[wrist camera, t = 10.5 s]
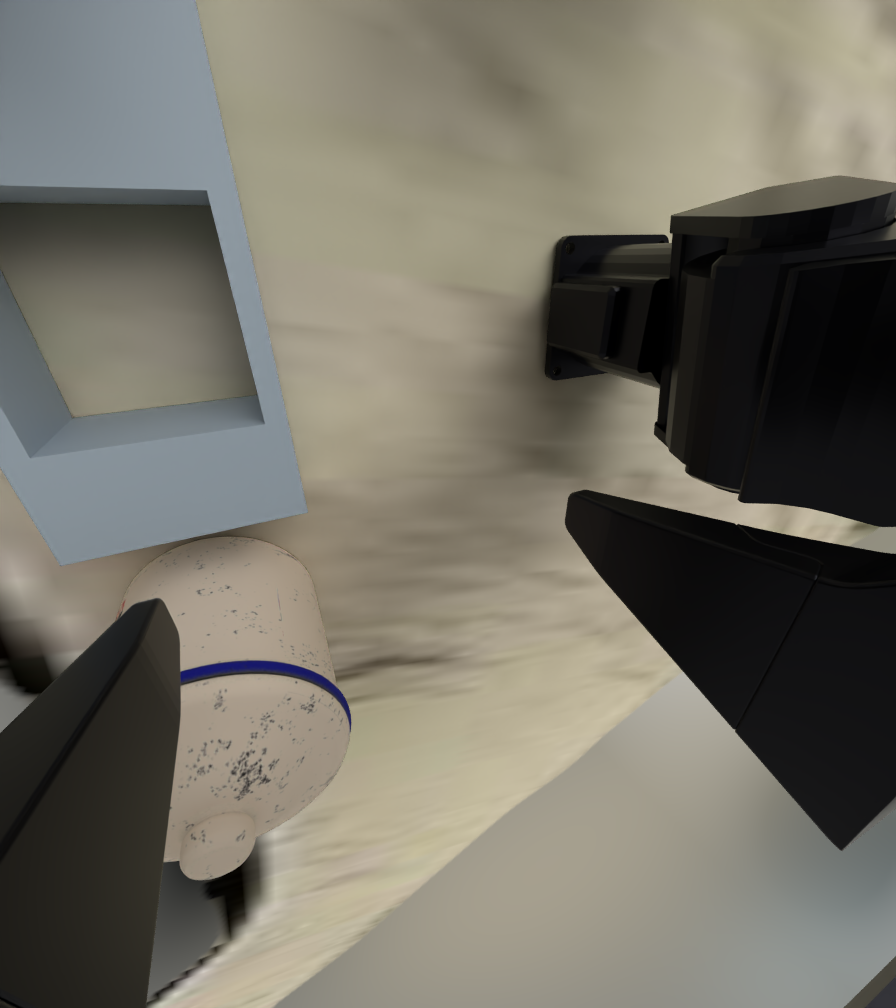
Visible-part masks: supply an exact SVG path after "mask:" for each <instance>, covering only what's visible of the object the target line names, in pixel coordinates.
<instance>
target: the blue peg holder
mask: <svg viewBox="0 0 896 1008" xmlns="http://www.w3.org/2000/svg"><path fill="white" fill-rule="evenodd" d="M0 203H68V204H144V205H211V209H212V213H213V217H214V221H215V225H216V229H217V233H218V237H219V241H220V245H221V249H222V253H223V257H224V261H225V265H226V269H227V273H228V277H229V281H230V285H231V289H232V293H233V297H234V301H235V305H236V309H237V313H238V317H239V321H240V325H241V329H242V333H243V337H244V341H245V345H246V349H247V353H248V357H249V361H250V365H251V369H252V374H253V378H254V382H255V386H256V390H257V394H258V395H254V396H246V397H237V398H229V399H221V400H213V401H205V402H197V403H189V404H181V405H173V406H165V407H156V408H148V409H140V410H132V411H124V412H116V413H108V414H100V415H92V416H84V417H75V418H72V416H71V414H70V412H69V410H68V408H67V406H66V404H65V402H64V400H63V397H62V395H61V393H60V391H59V389H58V387H57V385H56V383H55V381H54V379H53V377H52V375H51V373H50V371H49V369H48V367H47V365H46V362H45V360H44V358H43V356H42V354H41V352H40V350H39V348H38V346H37V344H36V342H35V340H34V338H33V336H32V334H31V332H30V329H29V327H28V325H27V323H26V321H25V319H24V317H23V315H22V313H21V311H20V309H19V307H18V305H17V303H16V301H15V299H14V297H13V294H12V292H11V290H10V288H9V286H8V284H7V282H6V280H5V278H4V276H3V274H2V272H1V270H0V468H1V470H2V471H3V473H4V475H5V476H6V478H7V480H8V481H9V483H10V484H11V486H12V488H13V489H14V491H15V493H16V494H17V496H18V498H19V499H20V501H21V502H22V504H23V506H24V507H25V509H26V511H27V512H28V514H29V516H30V517H31V519H32V520H33V522H34V524H35V525H36V527H37V529H38V530H39V532H40V534H41V535H42V537H43V538H44V540H45V542H46V543H47V545H48V547H49V548H50V550H51V551H52V553H53V555H54V556H55V558H56V560H57V561H58V563H59V565H60V566H63V565H68V564H72V563H77V562H82V561H86V560H91V559H96V558H100V557H105V556H109V555H114V554H119V553H123V552H128V551H133V550H137V549H142V548H146V547H151V546H156V545H160V544H165V543H170V542H174V541H179V540H183V539H188V538H193V537H197V536H202V535H207V534H211V533H216V532H220V531H225V530H230V529H234V528H239V527H244V526H248V525H253V524H257V523H262V522H267V521H271V520H276V519H281V518H285V517H290V516H294V515H299V514H304V513H308V510H307V505H306V501H305V496H304V491H303V487H302V482H301V478H300V473H299V469H298V464H297V460H296V455H295V451H294V446H293V442H292V437H291V432H290V428H289V423H288V419H287V414H286V410H285V405H284V401H283V396H282V392H281V387H280V383H279V378H278V373H277V369H276V364H275V360H274V355H273V351H272V346H271V342H270V337H269V333H268V328H267V324H266V319H265V314H264V310H263V305H262V301H261V296H260V292H259V287H258V283H257V278H256V274H255V269H254V265H253V260H252V255H251V251H250V246H249V242H248V237H247V233H246V228H245V224H244V219H243V215H242V210H241V205H240V201H239V196H238V192H237V187H236V183H235V178H234V174H233V169H232V165H231V160H230V156H229V151H228V146H227V142H226V137H225V133H224V128H223V124H222V119H221V115H220V110H219V106H218V101H217V97H216V92H215V87H214V83H213V78H212V74H211V69H210V65H209V60H208V56H207V51H206V47H205V42H204V38H203V33H202V28H201V24H200V19H199V15H198V10H197V6H196V1H195V0H0Z"/></svg>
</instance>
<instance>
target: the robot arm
mask: <svg viewBox="0 0 896 1008" xmlns="http://www.w3.org/2000/svg"><path fill="white" fill-rule="evenodd" d="M670 233H673V236H672V243H669V240H668V237H667V236H666V235H580V236H565V237H562V238H561V239H560V240H559V242H558V244H557V247H556V256H555V267H554V278H553V288H552V291H551V302H550V313H549V324H548V335H547V342H548V343H547V354H546V365H545V374H546V376H547V377H548V378H549V379H552V380H562V379H569V378H576V377H583V376H590V375H597V374H604V373H611V374H614V375H617V376H621V377H624V378H627V379H630V380H634V381H637V382H640V383H643V384H647V385H650V386H653V387H656V388H660V395H659V407H658V419H657V422H655V427H654V435H655V436H656V437H657V438H658V439H659V440H661V441H662V442H663V443H664V444H665V445H666V446H667V447H668V448H669V451H670V452H671V453H672V454H673V455H674V456H675V457H676V458H678V459H679V460H680V461H681V462H682V463H683V464H685V465H686V467H685V471H686V473H687V474H689V475H690V476H691V477H693V478H696V479H698V480H700V481H702V482H705V483H707V484H710V485H712V486H714V487H716V488H718V489H722V490H725V491H728V492H731V493H737V494H739V496H738V500H739V501H740V502H742V503H760V504H782V505H789V506H797V507H804V508H810V509H814V510H818V511H823V512H827V513H831V514H835V515H838V516H842V517H845V518H849V519H853V520H856V521H860V522H864V523H867V524H871V525H874V526H879V527H896V183H892V182H885V181H877V180H870V179H863V178H855V177H848V176H832V177H826V178H820V179H814V180H808V181H802V182H796V183H790V184H784V185H778V186H772V187H767V188H763V189H759V190H756V191H753V192H749V193H746V194H742V195H739V196H736V197H732V198H729V199H725V200H722V201H719V202H715V203H712V204H708V205H705V206H702V207H698V208H695V209H691V210H688V211H684V212H681V213H678V214H674V215H671V223H670ZM567 244H569V246H570V249H569V252H568V253H566V246H567ZM556 366H557V370H556V372H555V373H553V371H554V368H555V367H556ZM565 525H566V528H567V530H568V532H569V533H570V535H571V536H572V538H573V539H574V540H575V542H576V543H577V545H578V546H579V547H580V549H581V550H582V552H583V553H584V554H585V556H586V557H587V559H588V560H589V562H590V563H591V564H592V566H593V567H594V569H595V570H596V571H597V573H598V574H599V575H600V576H601V578H602V579H603V580H604V581H605V582H606V584H607V585H608V586H609V587H610V588H611V589H612V590H613V592H614V593H615V594H616V595H617V596H618V597H619V598H620V600H621V601H622V602H623V603H624V604H625V605H626V607H627V608H628V609H629V610H630V611H631V612H632V613H633V615H634V616H635V617H636V618H637V619H638V620H639V621H640V623H641V624H642V625H643V626H644V627H645V628H646V629H647V631H648V632H649V633H650V634H651V635H652V636H653V638H654V639H655V640H656V641H657V642H658V643H659V644H660V646H661V647H662V648H663V649H664V650H665V651H666V652H667V654H668V655H669V656H670V657H671V658H672V659H673V660H674V662H675V663H676V664H677V665H678V666H679V667H680V669H681V670H682V671H683V672H684V673H685V674H686V675H687V677H688V678H689V679H690V680H691V681H692V682H693V683H694V685H695V686H696V687H697V688H698V689H699V690H700V691H701V693H702V694H703V695H704V696H705V697H706V698H707V699H708V700H709V702H710V703H711V704H712V705H713V706H714V708H715V709H716V710H717V711H718V712H719V713H720V714H721V716H722V717H723V718H724V719H725V720H726V721H727V722H728V724H729V725H730V726H731V727H732V728H733V729H736V730H735V732H736V733H737V734H738V736H739V737H740V738H741V739H742V740H743V741H744V742H745V744H746V745H747V746H748V747H749V748H750V749H751V750H752V752H753V753H754V754H755V755H756V756H757V757H758V759H760V761H761V762H762V763H763V764H764V765H765V767H766V768H767V769H768V770H769V771H770V772H771V773H772V774H773V776H774V777H775V778H776V779H777V780H778V782H779V783H780V784H781V785H782V786H783V787H784V788H785V789H786V791H787V792H788V793H789V794H790V795H791V796H792V798H794V800H795V801H796V802H797V803H798V805H799V806H801V808H802V809H803V810H804V811H805V812H806V814H807V815H808V816H809V817H810V818H811V819H812V821H813V822H814V823H815V824H816V825H817V826H818V828H819V829H820V830H821V831H822V832H823V833H824V834H825V836H826V837H827V838H828V839H829V840H830V841H831V842H832V843H833V844H834V845H835V846H836V847H837V848H838V849H839V850H841V851H843V850H844V849H845V848H847V847H848V846H849V845H850V844H852V843H853V842H854V841H855V840H857V839H858V838H859V837H861V836H862V835H863V834H864V833H866V832H867V831H868V830H869V829H871V828H872V827H873V826H874V825H876V824H877V823H878V822H879V821H881V820H882V819H883V818H885V817H886V816H887V815H888V814H890V813H891V812H892V811H893V810H895V809H896V554H890V553H883V552H876V551H871V550H865V549H860V548H854V547H849V546H844V545H838V544H833V543H828V542H822V541H817V540H811V539H806V538H801V537H796V536H791V535H786V534H781V533H776V532H771V531H767V530H762V529H757V528H753V527H749V526H744V525H740V524H737V525H736V524H734V523H731V522H726V521H722V520H717V519H713V518H709V517H704V516H700V515H695V514H691V513H687V512H682V511H678V510H673V509H669V508H665V507H660V506H656V505H651V504H647V503H642V502H638V501H634V500H629V499H625V498H620V497H616V496H612V495H607V494H603V493H598V492H594V491H590V490H581V491H577V492H573V493H571V494H570V495H569V497H568V502H567V509H566V517H565ZM180 718H181V679H180V638H179V633H178V630H177V627H176V625H175V623H174V621H173V619H172V617H171V615H170V613H169V611H168V609H167V607H166V605H165V603H164V601H163V600H162V599H160V598H154V599H150V600H146V601H142V602H138V603H135V604H133V605H132V606H131V607H130V608H129V609H128V610H127V611H126V612H124V613H123V614H122V615H121V616H120V617H119V618H118V619H117V620H116V621H115V622H114V623H113V624H112V625H111V626H110V627H109V628H108V629H107V630H106V631H105V632H104V633H103V634H102V635H101V636H100V637H99V638H98V639H97V640H96V641H95V642H94V643H93V644H92V645H91V646H89V647H88V648H87V649H86V650H85V651H84V652H83V653H82V654H81V655H80V656H79V657H78V658H77V659H76V660H75V661H74V662H73V663H72V664H71V665H70V666H69V667H68V668H67V669H66V670H65V671H64V672H63V673H62V674H61V675H60V676H59V677H58V678H57V679H56V680H54V681H53V682H52V683H51V684H50V685H49V686H48V687H47V688H46V689H45V690H44V691H43V692H42V693H41V694H40V695H39V696H38V697H37V698H36V699H35V700H34V701H33V702H32V703H31V704H30V705H29V706H28V707H27V708H26V709H25V710H24V711H23V712H22V713H21V714H20V715H18V717H16V718H15V719H14V720H13V721H12V722H11V723H10V724H9V725H8V726H7V727H6V728H5V729H4V730H3V731H2V732H1V733H0V1008H146V1002H147V993H148V985H149V976H150V968H151V961H152V952H153V944H154V935H155V928H156V919H157V910H158V903H159V894H160V886H161V878H162V870H163V862H164V853H165V845H166V837H167V829H168V820H169V812H170V804H171V796H172V787H173V779H174V771H175V763H176V754H177V746H178V738H179V730H180ZM844 1008H896V957H894V958H893V959H892V960H891V962H889V963H888V964H887V965H886V966H885V967H884V968H883V969H882V971H880V972H879V973H878V974H877V975H876V976H875V977H874V978H873V979H872V980H871V981H870V982H869V983H868V984H867V985H866V986H865V987H864V988H863V989H862V990H861V991H860V992H859V993H858V994H857V995H856V996H855V997H854V998H853V999H852V1000H851V1001H850V1002H849V1003H848V1004H847V1005H846V1006H845V1007H844Z"/></svg>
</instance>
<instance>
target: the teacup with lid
mask: <svg viewBox="0 0 896 1008" xmlns="http://www.w3.org/2000/svg"><path fill="white" fill-rule="evenodd" d="M154 598H160V599H162V600H163V601H164V603H165V605H166V607H167V609H168V611H169V613H170V615H171V617H172V619H173V621H174V623H175V625H176V627H177V630H178V633H179V638H180V679H181V718H180V730H179V738H178V746H177V754H176V763H175V771H174V779H173V787H172V796H171V804H170V812H169V820H168V829H167V837H166V845H165V853H164V862H171V861H178V860H180V868H181V870H182V872H183V873H184V874H185V875H186V876H187V877H189V878H190V879H194V880H208V879H213V878H216V877H220V876H222V875H225V874H227V873H229V872H231V871H232V870H234V869H236V868H237V867H239V866H240V865H241V864H242V863H243V862H244V861H245V860H246V859H247V858H248V856H249V855H250V853H251V851H252V849H253V847H254V844H255V838H256V837H258V836H260V835H262V834H264V833H266V832H268V831H270V830H272V829H274V828H275V827H277V826H279V825H281V824H282V823H284V822H285V821H287V820H289V819H290V818H292V817H293V816H294V815H296V814H297V813H299V812H300V811H301V810H302V809H304V808H305V807H306V806H307V805H309V804H310V803H311V802H312V801H313V800H314V799H315V798H316V797H317V796H318V795H319V794H320V793H321V792H322V791H323V790H324V789H325V788H326V787H327V786H328V784H329V783H330V782H331V780H332V779H333V778H334V776H335V775H336V773H337V771H338V770H339V768H340V766H341V764H342V762H343V760H344V757H345V754H346V751H347V748H348V744H349V739H350V732H351V714H350V710H349V706H348V704H347V701H346V699H345V697H344V696H343V694H342V693H341V691H340V690H339V689H338V687H337V683H336V678H335V674H334V670H333V665H332V661H331V657H330V652H329V648H328V644H327V639H326V635H325V631H324V626H323V622H322V618H321V613H320V609H319V605H318V601H317V596H316V592H315V588H314V584H313V581H312V579H311V577H310V575H309V573H308V571H307V570H306V568H305V567H304V566H303V565H302V564H301V562H300V561H299V560H297V559H296V558H295V557H294V556H293V555H291V554H290V553H288V552H287V551H285V550H283V549H282V548H280V547H278V546H275V545H273V544H271V543H268V542H265V541H261V540H257V539H252V538H246V537H214V538H207V539H202V540H197V541H193V542H190V543H187V544H184V545H181V546H179V547H176V548H174V549H172V550H170V551H168V552H166V553H164V554H162V555H161V556H159V557H157V558H156V559H155V560H153V561H152V562H150V563H149V564H148V565H147V566H146V567H144V568H143V569H142V570H141V571H140V572H139V573H138V575H137V576H136V577H135V578H134V579H133V581H132V582H131V584H130V585H129V587H128V589H127V591H126V592H125V595H124V597H123V600H122V603H121V606H120V609H119V611H118V614H117V617H116V620H117V619H118V618H119V617H120V616H121V615H122V614H123V613H124V612H126V611H127V610H128V609H129V608H130V607H131V606H132V605H133V604H135V603H138V602H142V601H146V600H150V599H154ZM116 620H115V621H116Z"/></svg>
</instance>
